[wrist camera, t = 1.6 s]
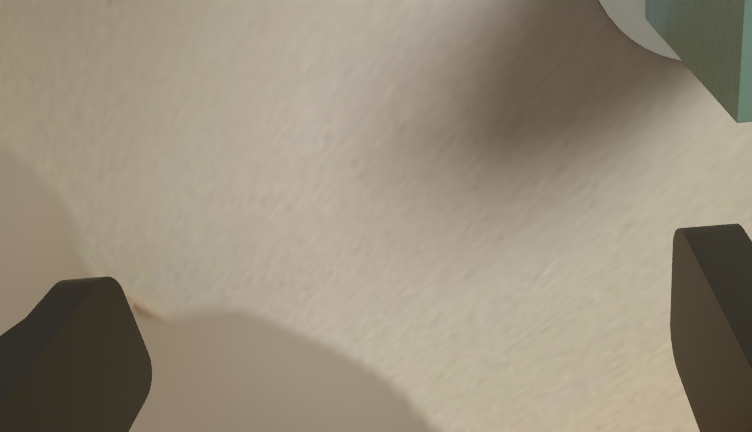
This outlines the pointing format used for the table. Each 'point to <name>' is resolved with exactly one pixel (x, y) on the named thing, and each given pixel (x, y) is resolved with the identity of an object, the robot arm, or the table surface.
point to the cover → (711, 46)
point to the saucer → (637, 25)
